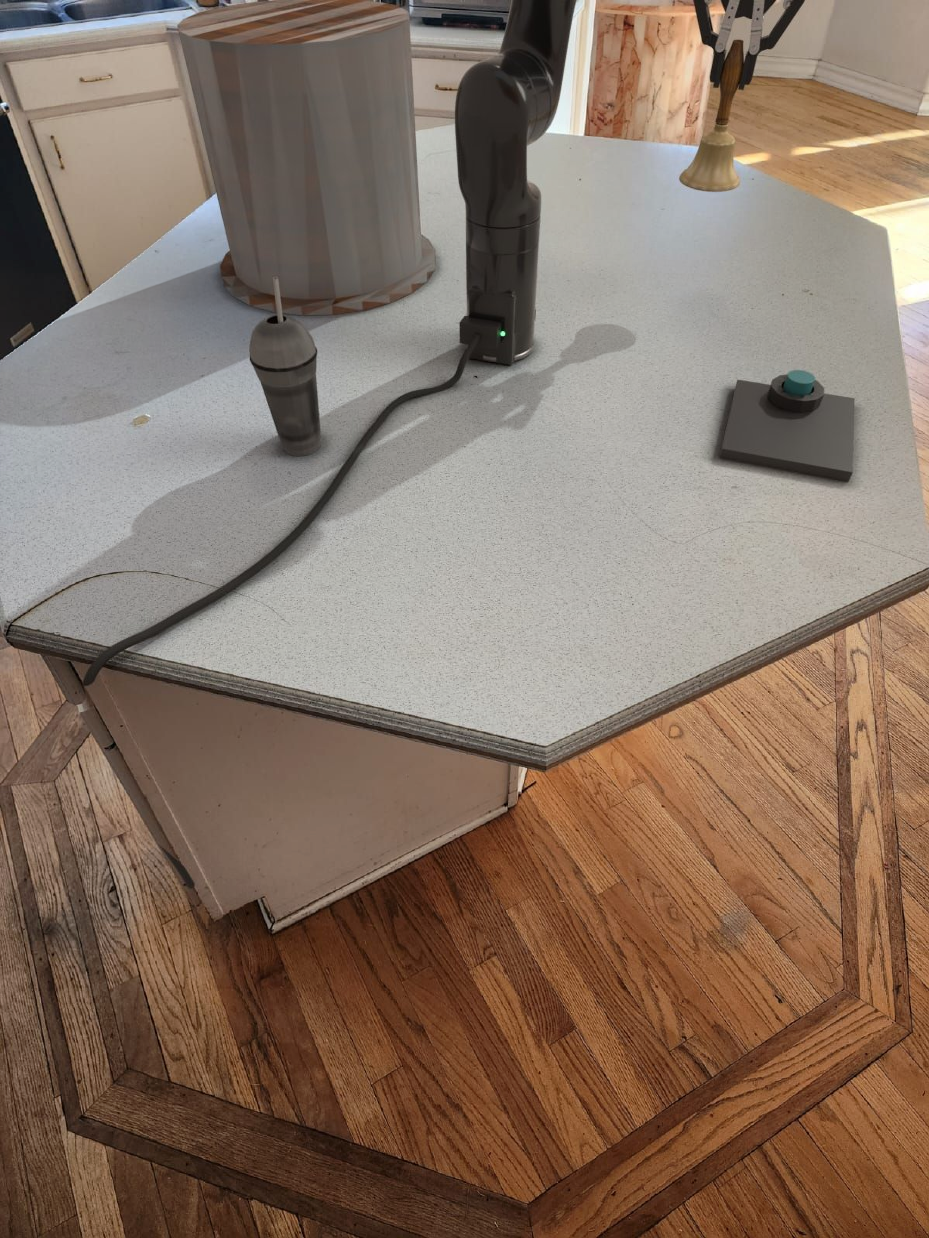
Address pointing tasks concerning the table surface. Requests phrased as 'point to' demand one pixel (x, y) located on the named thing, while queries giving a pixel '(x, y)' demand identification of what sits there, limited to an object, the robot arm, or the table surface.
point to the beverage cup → (288, 378)
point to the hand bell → (718, 135)
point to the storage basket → (311, 151)
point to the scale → (791, 430)
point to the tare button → (799, 382)
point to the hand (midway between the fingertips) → (729, 87)
